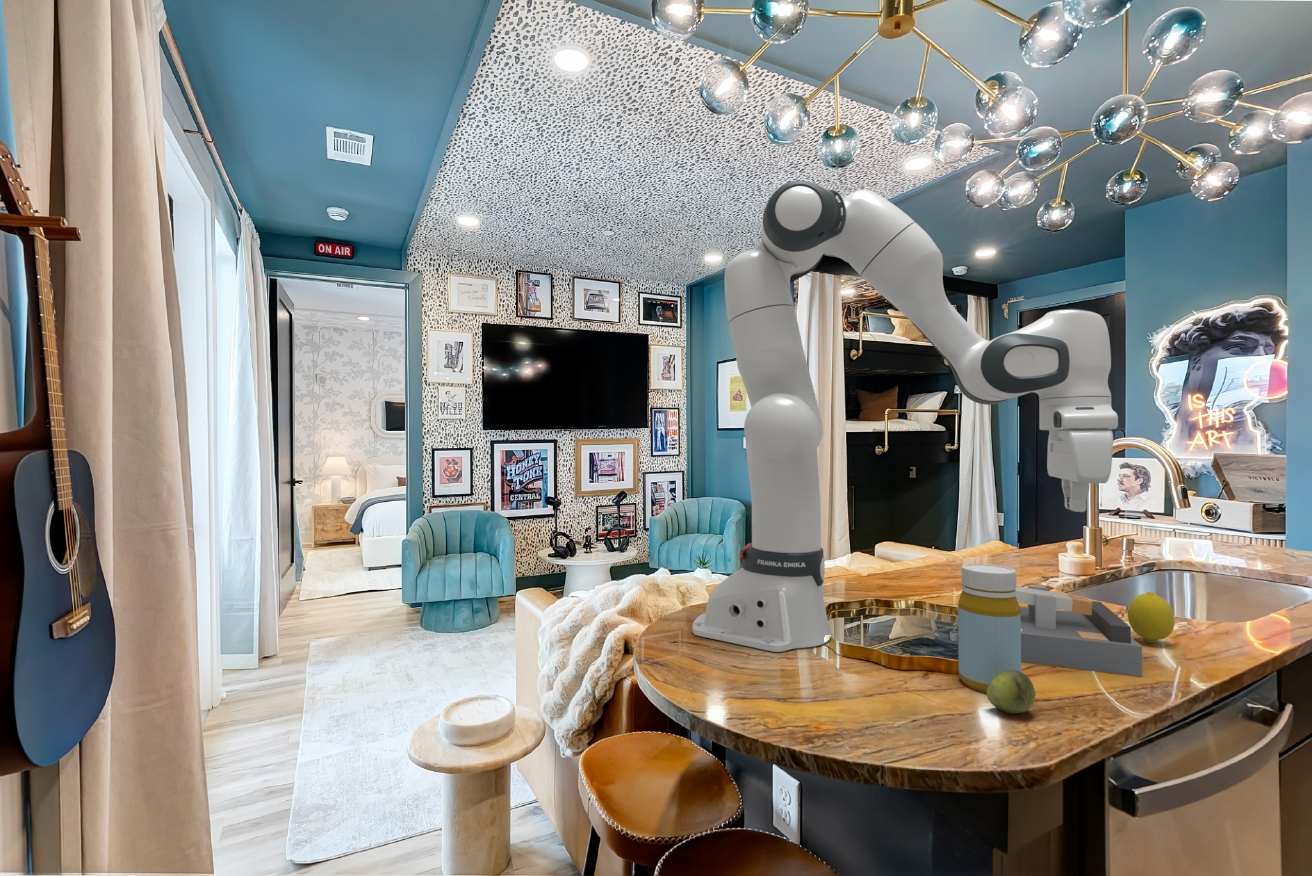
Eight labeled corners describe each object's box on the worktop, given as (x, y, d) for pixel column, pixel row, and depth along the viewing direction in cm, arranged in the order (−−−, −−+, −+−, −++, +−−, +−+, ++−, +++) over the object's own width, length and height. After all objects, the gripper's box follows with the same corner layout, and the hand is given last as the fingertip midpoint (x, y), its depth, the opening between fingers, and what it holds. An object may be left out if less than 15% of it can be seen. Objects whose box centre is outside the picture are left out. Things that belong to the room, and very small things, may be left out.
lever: (997, 600, 90) (998, 587, 90) (993, 593, 94) (994, 582, 94) (1091, 615, 85) (1093, 602, 85) (1084, 608, 89) (1085, 596, 89)
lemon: (1182, 651, 88) (1181, 597, 88) (1137, 646, 89) (1136, 594, 90) (1163, 639, 93) (1163, 588, 93) (1121, 635, 95) (1121, 586, 95)
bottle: (1030, 698, 71) (1029, 575, 72) (968, 693, 73) (967, 573, 73) (1008, 676, 78) (1007, 564, 78) (952, 672, 80) (951, 562, 80)
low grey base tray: (972, 655, 86) (971, 596, 86) (963, 624, 101) (963, 574, 101) (1142, 676, 78) (1141, 612, 78) (1105, 639, 93) (1105, 585, 93)
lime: (982, 711, 68) (982, 668, 68) (1000, 700, 71) (1000, 659, 71) (1025, 726, 64) (1025, 680, 64) (1042, 713, 67) (1042, 670, 67)
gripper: (1036, 421, 99) (1036, 503, 99) (1065, 415, 80) (1066, 517, 80) (1081, 420, 96) (1082, 504, 96) (1122, 414, 77) (1123, 519, 77)
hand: (1075, 510), depth 88 cm, fingers closed
